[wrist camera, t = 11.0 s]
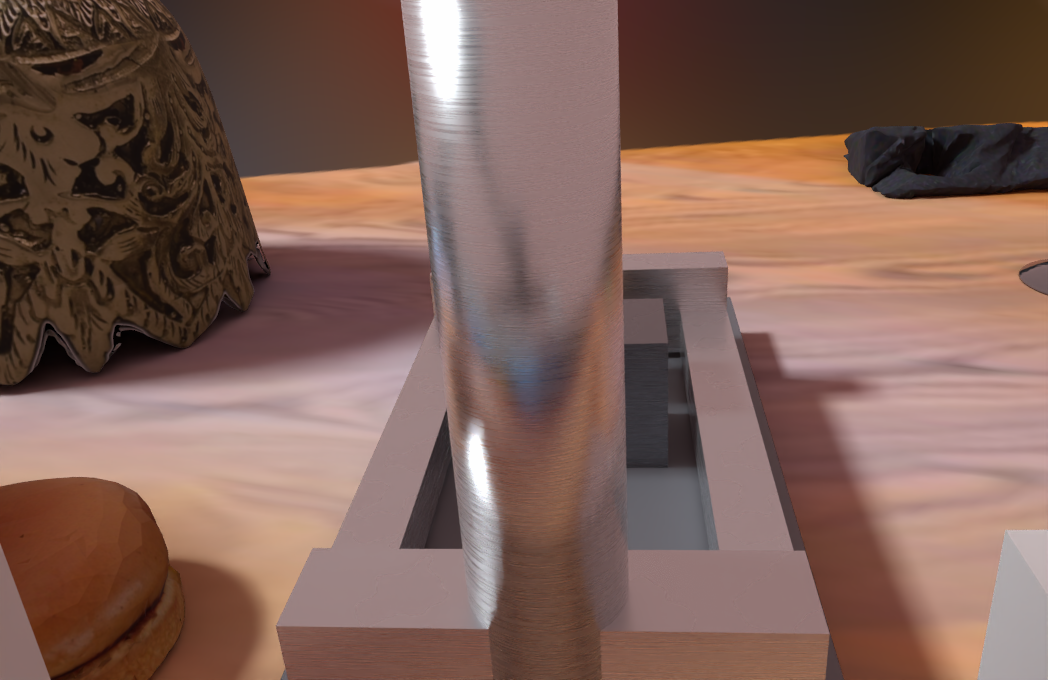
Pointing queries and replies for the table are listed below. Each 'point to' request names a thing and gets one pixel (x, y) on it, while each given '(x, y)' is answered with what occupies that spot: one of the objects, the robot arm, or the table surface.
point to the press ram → (547, 406)
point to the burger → (91, 577)
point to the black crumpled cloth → (949, 159)
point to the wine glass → (1036, 275)
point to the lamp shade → (111, 184)
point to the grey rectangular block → (646, 383)
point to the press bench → (660, 487)
